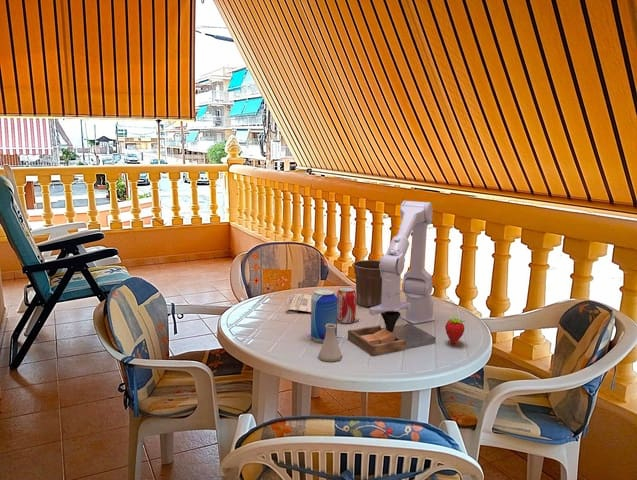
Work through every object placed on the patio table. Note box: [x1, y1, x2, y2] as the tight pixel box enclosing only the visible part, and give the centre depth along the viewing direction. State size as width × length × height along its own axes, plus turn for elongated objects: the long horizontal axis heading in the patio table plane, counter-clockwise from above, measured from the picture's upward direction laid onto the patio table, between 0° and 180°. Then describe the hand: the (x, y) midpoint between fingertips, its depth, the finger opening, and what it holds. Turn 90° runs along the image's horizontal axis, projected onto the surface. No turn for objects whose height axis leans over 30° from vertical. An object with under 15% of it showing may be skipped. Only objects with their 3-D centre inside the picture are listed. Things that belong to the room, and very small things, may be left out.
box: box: [347, 324, 407, 357], centre depth 162 cm, size 12×15×3 cm
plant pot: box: [352, 259, 382, 308], centre depth 203 cm, size 16×16×16 cm
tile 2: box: [372, 327, 395, 344], centre depth 163 cm, size 5×5×2 cm
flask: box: [317, 324, 343, 363], centre depth 151 cm, size 7×7×10 cm
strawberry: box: [445, 314, 466, 345], centre depth 163 cm, size 6×8×10 cm
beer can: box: [310, 288, 338, 344], centre depth 165 cm, size 8×8×16 cm
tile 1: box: [361, 334, 380, 345], centre depth 162 cm, size 5×5×2 cm
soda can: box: [336, 286, 357, 324], centre depth 182 cm, size 7×7×12 cm
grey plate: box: [381, 323, 437, 350], centre depth 167 cm, size 12×14×2 cm
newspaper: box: [284, 293, 313, 314], centre depth 201 cm, size 23×12×2 cm, turn 176°
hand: (389, 333), depth 164 cm, fingers closed, pressing on tile 2
